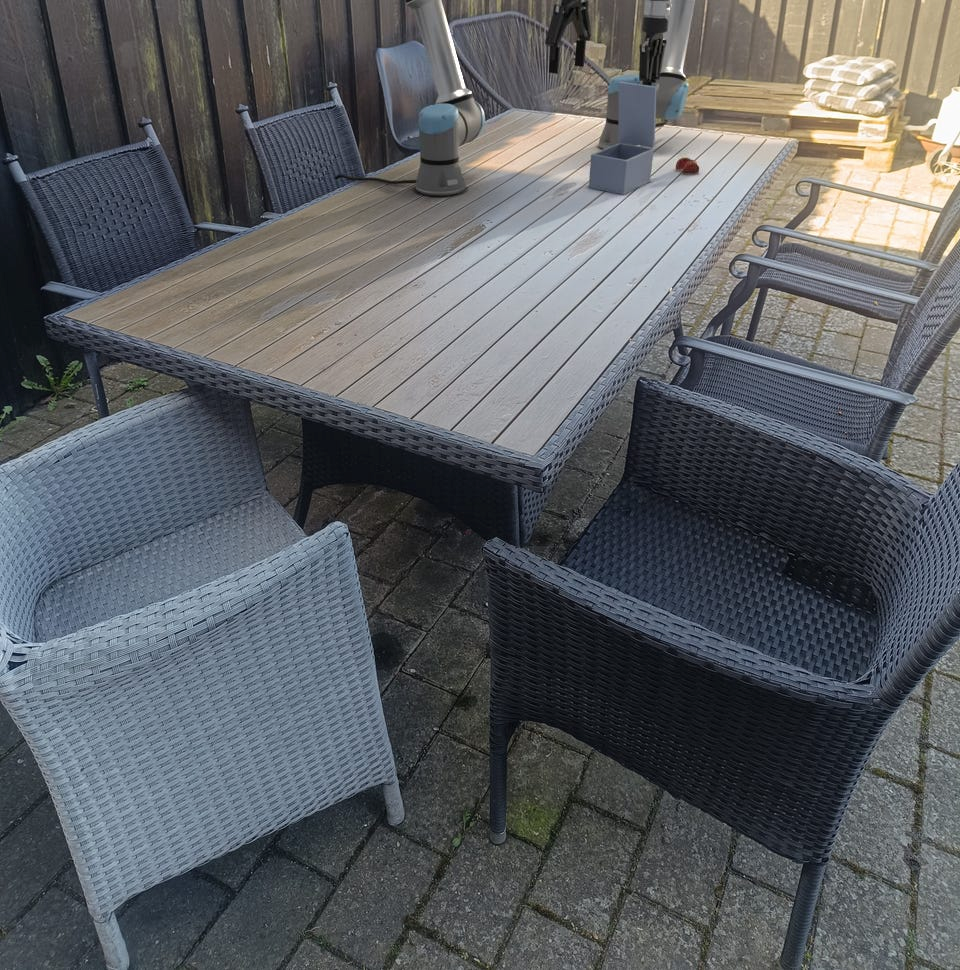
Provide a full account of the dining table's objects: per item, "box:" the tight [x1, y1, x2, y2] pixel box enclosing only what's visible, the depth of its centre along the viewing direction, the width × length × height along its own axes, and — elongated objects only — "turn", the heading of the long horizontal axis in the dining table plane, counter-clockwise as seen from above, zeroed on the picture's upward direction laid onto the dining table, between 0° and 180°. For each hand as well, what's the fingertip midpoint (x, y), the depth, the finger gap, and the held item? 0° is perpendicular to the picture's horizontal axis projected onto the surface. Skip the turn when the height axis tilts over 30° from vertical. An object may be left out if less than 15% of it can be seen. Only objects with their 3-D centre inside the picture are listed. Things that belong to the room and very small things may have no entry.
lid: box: [618, 81, 659, 149], centre depth 258 cm, size 18×12×9 cm
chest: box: [588, 143, 655, 195], centre depth 260 cm, size 17×12×10 cm
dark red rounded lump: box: [675, 156, 700, 175], centre depth 273 cm, size 6×4×8 cm
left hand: (566, 69), depth 236 cm, fingers open, 13 cm apart
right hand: (647, 103), depth 259 cm, fingers closed on lid, 2 cm apart
